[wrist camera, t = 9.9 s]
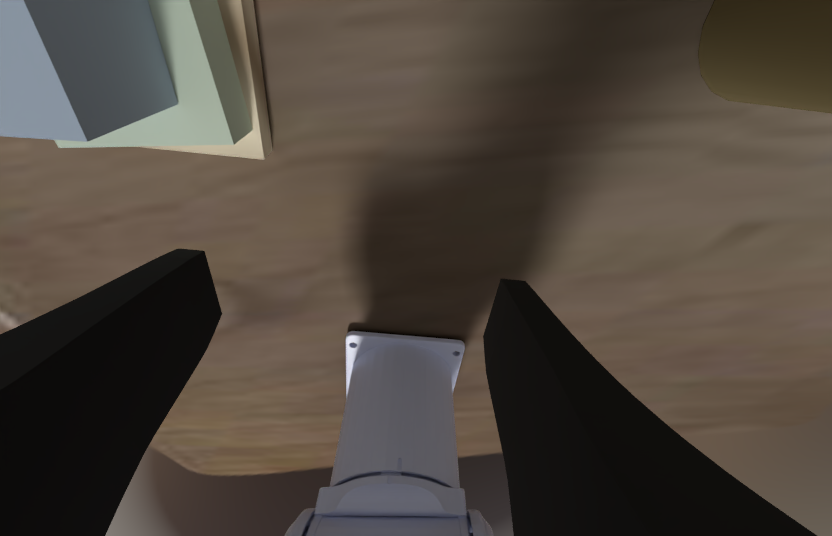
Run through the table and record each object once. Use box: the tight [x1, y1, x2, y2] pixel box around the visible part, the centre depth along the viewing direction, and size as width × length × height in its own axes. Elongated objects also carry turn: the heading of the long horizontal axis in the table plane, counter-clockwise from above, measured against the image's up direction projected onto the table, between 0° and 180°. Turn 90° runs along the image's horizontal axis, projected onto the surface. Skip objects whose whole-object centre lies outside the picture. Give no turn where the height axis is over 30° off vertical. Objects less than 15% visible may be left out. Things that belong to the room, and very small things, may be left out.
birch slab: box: [136, 0, 273, 160], centre depth 15 cm, size 9×9×2 cm
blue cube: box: [0, 0, 178, 142], centre depth 10 cm, size 4×4×4 cm
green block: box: [55, 0, 253, 148], centre depth 13 cm, size 7×7×2 cm
